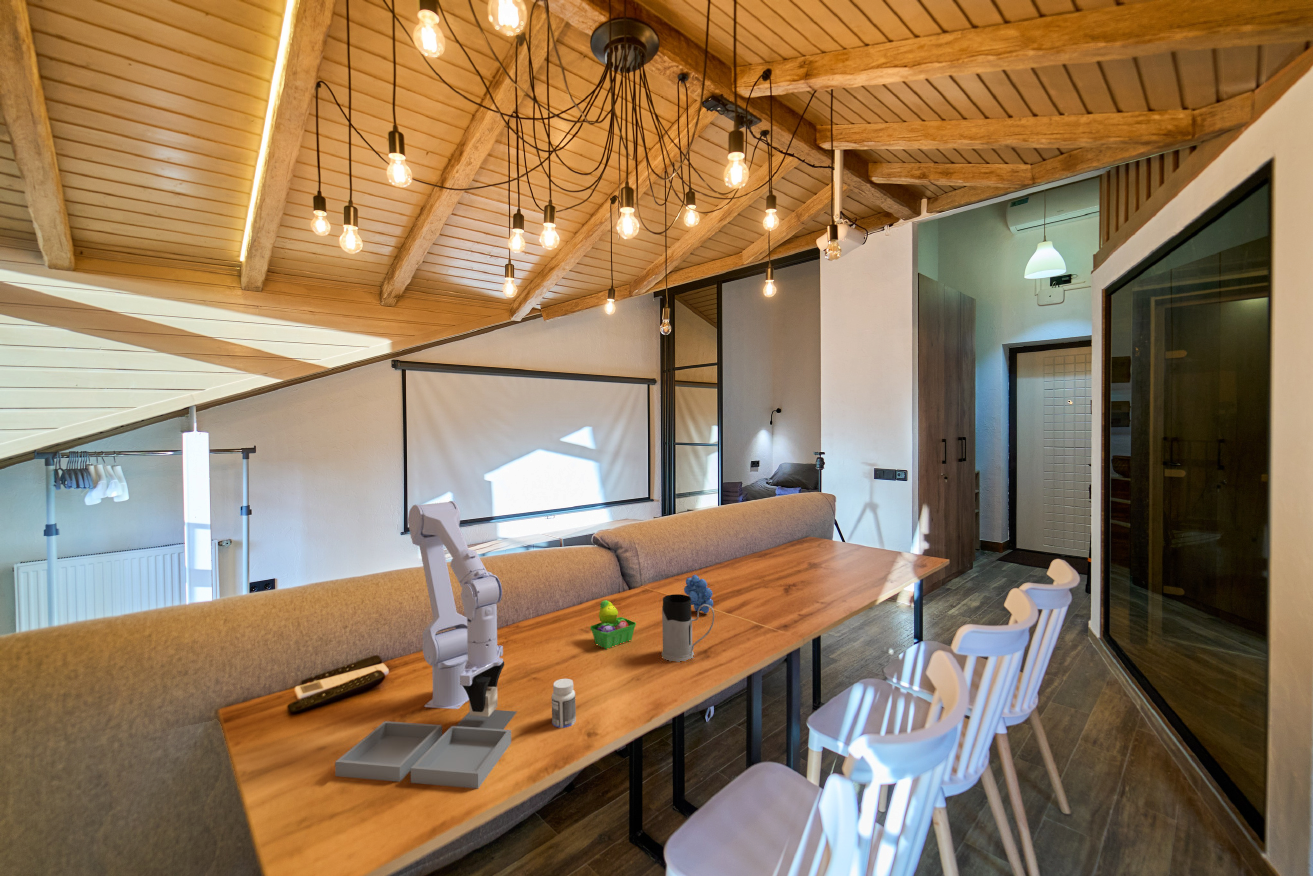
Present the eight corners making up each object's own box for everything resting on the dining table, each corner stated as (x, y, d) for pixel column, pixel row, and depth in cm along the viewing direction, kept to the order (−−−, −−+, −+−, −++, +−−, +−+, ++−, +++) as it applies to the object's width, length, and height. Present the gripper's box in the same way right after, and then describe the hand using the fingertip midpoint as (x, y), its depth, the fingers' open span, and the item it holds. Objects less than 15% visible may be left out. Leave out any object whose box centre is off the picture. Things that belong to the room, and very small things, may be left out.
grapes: (676, 611, 175) (676, 575, 175) (689, 606, 180) (688, 571, 180) (704, 619, 167) (704, 581, 167) (717, 614, 172) (716, 577, 172)
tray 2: (451, 741, 102) (451, 725, 102) (511, 746, 100) (511, 730, 100) (410, 786, 89) (410, 768, 89) (478, 792, 87) (478, 773, 87)
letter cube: (479, 705, 109) (478, 685, 109) (497, 706, 109) (497, 686, 109) (469, 715, 105) (469, 694, 105) (488, 716, 105) (488, 695, 105)
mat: (472, 711, 113) (472, 708, 113) (517, 714, 111) (517, 711, 111) (447, 738, 103) (447, 734, 103) (496, 741, 101) (496, 738, 101)
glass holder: (664, 647, 145) (663, 592, 145) (716, 651, 142) (715, 595, 142) (658, 660, 137) (657, 602, 137) (713, 665, 134) (712, 605, 134)
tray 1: (385, 736, 104) (384, 721, 104) (442, 740, 102) (441, 725, 102) (335, 779, 91) (335, 761, 91) (399, 785, 89) (399, 767, 89)
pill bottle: (577, 717, 110) (576, 677, 110) (574, 730, 105) (573, 688, 105) (554, 718, 109) (553, 677, 109) (550, 731, 105) (549, 688, 105)
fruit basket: (605, 652, 143) (604, 610, 143) (586, 643, 149) (586, 603, 149) (637, 641, 150) (637, 601, 150) (618, 632, 157) (618, 594, 157)
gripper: (484, 653, 99) (485, 725, 99) (515, 625, 113) (516, 689, 114) (449, 651, 100) (450, 723, 100) (484, 624, 115) (485, 687, 115)
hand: (483, 705), depth 107 cm, fingers closed on letter cube, 4 cm apart
